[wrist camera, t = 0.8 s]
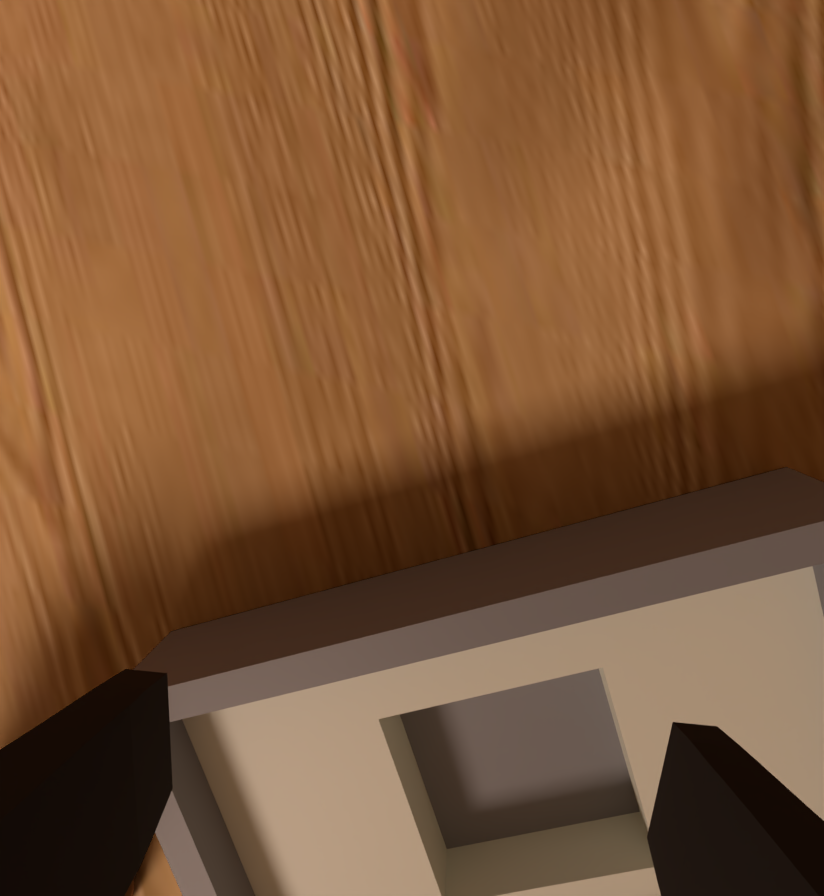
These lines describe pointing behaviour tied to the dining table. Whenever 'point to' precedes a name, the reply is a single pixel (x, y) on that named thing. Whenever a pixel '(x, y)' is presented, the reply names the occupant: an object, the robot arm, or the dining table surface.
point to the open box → (498, 705)
